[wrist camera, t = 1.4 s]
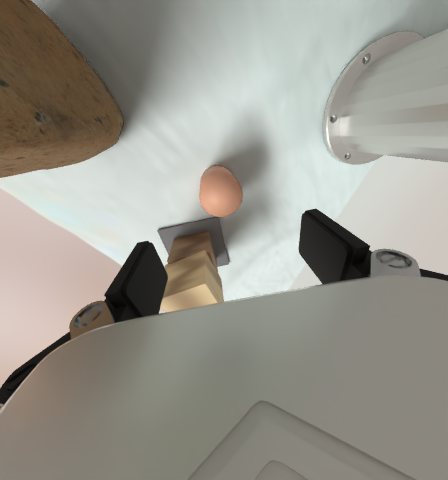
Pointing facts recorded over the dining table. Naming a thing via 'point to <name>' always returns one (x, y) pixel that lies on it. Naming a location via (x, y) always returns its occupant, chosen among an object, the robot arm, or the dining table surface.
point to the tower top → (191, 283)
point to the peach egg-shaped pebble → (219, 192)
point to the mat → (194, 228)
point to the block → (48, 96)
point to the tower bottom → (192, 247)
